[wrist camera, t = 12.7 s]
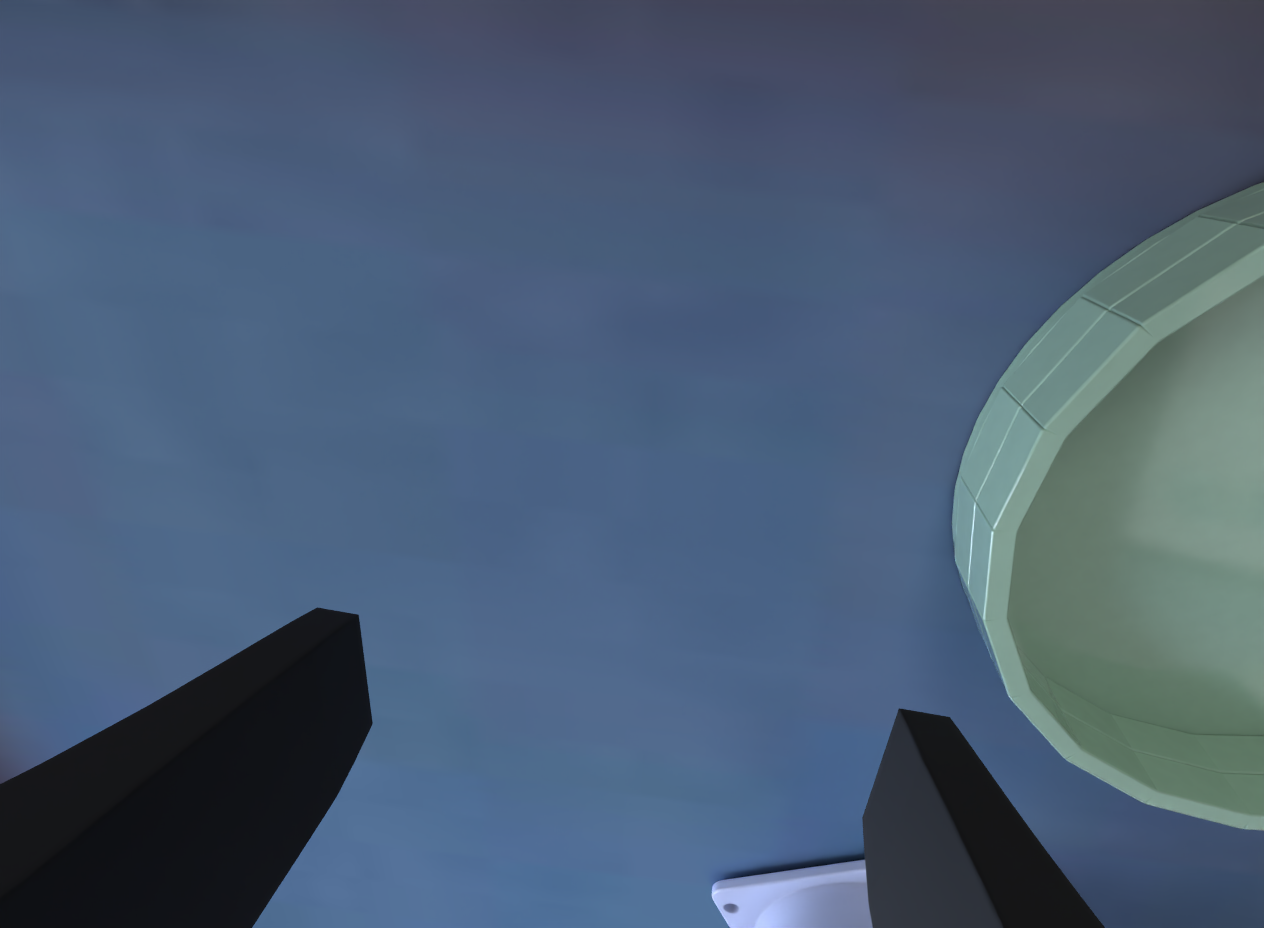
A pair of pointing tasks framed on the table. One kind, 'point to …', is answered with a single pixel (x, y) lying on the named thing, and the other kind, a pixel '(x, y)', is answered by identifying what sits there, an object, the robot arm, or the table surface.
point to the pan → (1135, 520)
